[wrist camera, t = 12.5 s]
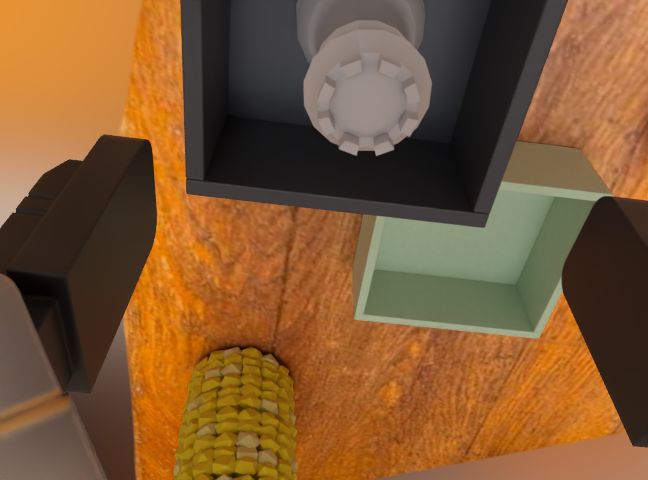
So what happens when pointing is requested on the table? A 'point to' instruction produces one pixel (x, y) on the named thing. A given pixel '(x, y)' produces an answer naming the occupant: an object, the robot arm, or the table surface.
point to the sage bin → (482, 252)
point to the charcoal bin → (366, 168)
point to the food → (238, 420)
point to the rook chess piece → (364, 70)
